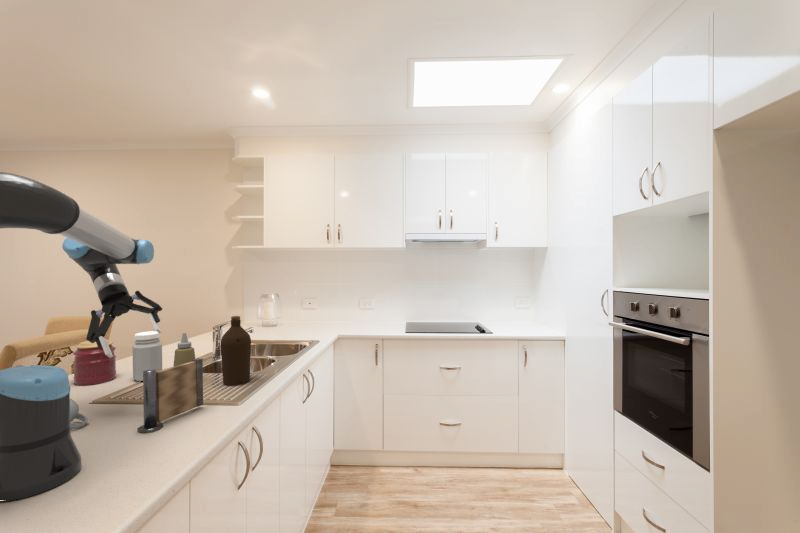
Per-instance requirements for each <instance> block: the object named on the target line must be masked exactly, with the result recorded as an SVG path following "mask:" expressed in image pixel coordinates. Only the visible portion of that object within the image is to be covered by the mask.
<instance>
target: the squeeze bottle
mask: <svg viewBox="0 0 800 533" xmlns="http://www.w3.org/2000/svg"><path fill="white" fill-rule="evenodd" d="M173 358H174V359H173V366H172V367H174V366H178V365H181V364H185V363H188V362H192V360H194V359H196V354H195V348H194V347H192V342H191V341H189V339H188V335H187V332H186V333H182V335H181V339H180V342H178V343H177V348H176V349H175V350H174V357H173Z"/></svg>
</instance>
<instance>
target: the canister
mask: <svg viewBox="0 0 800 533" xmlns="http://www.w3.org/2000/svg"><path fill="white" fill-rule="evenodd" d="M105 339H106V338H105ZM106 340H107V342H108V345H109V347H110V350H111V352H112V355H113V357H111V358H110V357H108V356H106V355H105V352H104V350H101V349H100V348H98V346H97V343H96V342H94V343H91V342H89V341H88V340H86V341H84V340H83V341H81V342H79V344H77V345H76V346H75V348H76V350H75V351H73V352H72V355H73V356H74V360H73V361H72V363H73V382H74V385H75V386H76V385H77V386H91V385H92V386H93V385H99V384H103V383H107V382H110V381H112V380H114V379H116V375H117V369H116V368H117V367H116V366H117V365H116V358H117V356H116V355H115V350H117V349H116V346H114V345H113V344H114V341H112V340H110V339H106Z"/></svg>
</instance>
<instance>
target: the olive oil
mask: <svg viewBox="0 0 800 533" xmlns="http://www.w3.org/2000/svg"><path fill="white" fill-rule="evenodd" d="M230 318H231V320H230V327H229V328H228V330H227V331H226V332H225V333H224V334H223V336H222V337H221V339H220V353H221V356H220V357H221V372H222V384H223V385H224V386H227V387H230V386H231V387H232V386H233V387H234V386H240V385H244V384H247V383H249V382H250V381H251V380H250V379H251V353H252V351H251V350H252V349H251V348H252V339H251V336H250V334H249V333H248V332H247V330H245V328H243V326H242V325H241V321H242V320H241V316H240V315H233V316H231V317H230Z"/></svg>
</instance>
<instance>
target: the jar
mask: <svg viewBox="0 0 800 533" xmlns="http://www.w3.org/2000/svg"><path fill="white" fill-rule="evenodd" d="M133 336H134V338H133V339H134V340H135V341H134V342H133V343H134V345H132V379H133V380H134V381H135V382H138V383H139V382H140V383H142V382H141V381H143V371H144V370H148V369H156V371H160V370H163V343H162V342H161V338H160V337H161V333H158V332H157V331H156V330H153V331H152V330H149V331H142V332H137V333H135V334H134V335H133Z"/></svg>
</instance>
